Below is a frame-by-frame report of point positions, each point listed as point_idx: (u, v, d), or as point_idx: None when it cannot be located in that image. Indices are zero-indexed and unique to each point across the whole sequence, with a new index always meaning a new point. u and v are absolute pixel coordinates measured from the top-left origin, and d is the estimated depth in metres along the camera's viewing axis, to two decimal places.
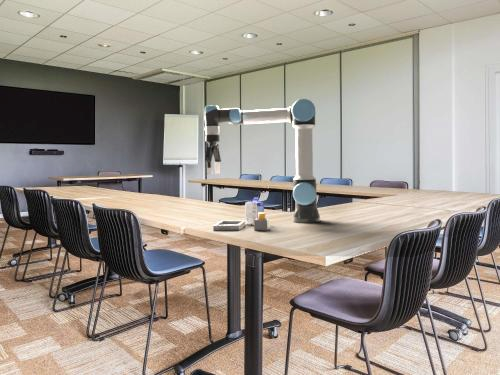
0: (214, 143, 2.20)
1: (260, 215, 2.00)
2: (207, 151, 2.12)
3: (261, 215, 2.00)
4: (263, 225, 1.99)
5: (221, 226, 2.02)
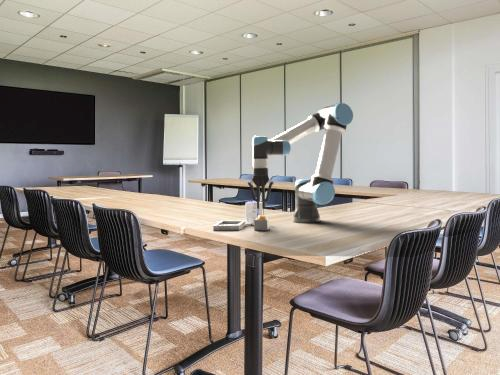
0: (259, 177, 2.00)
1: (260, 218, 2.00)
2: None
3: (261, 218, 2.00)
4: (263, 225, 1.99)
5: (221, 226, 2.02)
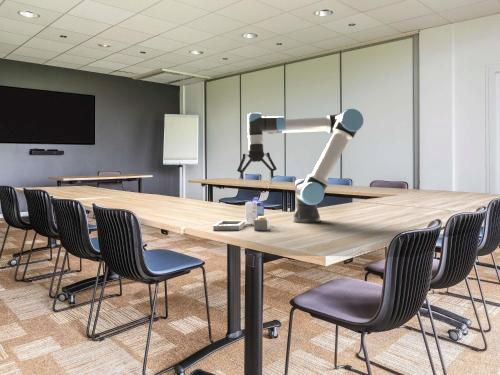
0: (255, 153, 2.09)
1: (260, 219, 2.00)
2: (241, 162, 2.12)
3: (261, 219, 2.00)
4: (263, 225, 1.99)
5: (221, 226, 2.02)
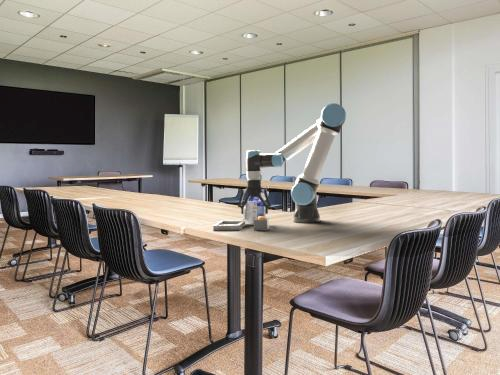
0: (253, 188, 2.18)
1: (260, 219, 2.00)
2: None
3: (261, 219, 2.00)
4: (263, 225, 1.99)
5: (221, 226, 2.02)
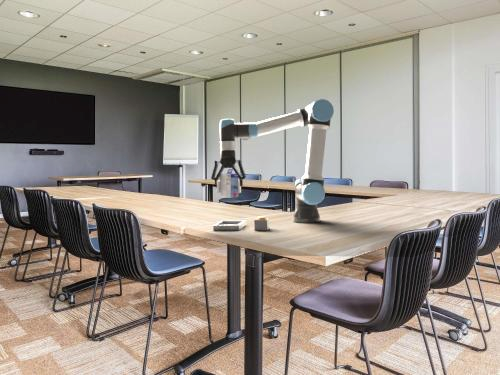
0: (226, 159, 2.07)
1: (260, 219, 2.00)
2: None
3: (261, 219, 2.00)
4: (263, 225, 1.99)
5: (221, 226, 2.02)
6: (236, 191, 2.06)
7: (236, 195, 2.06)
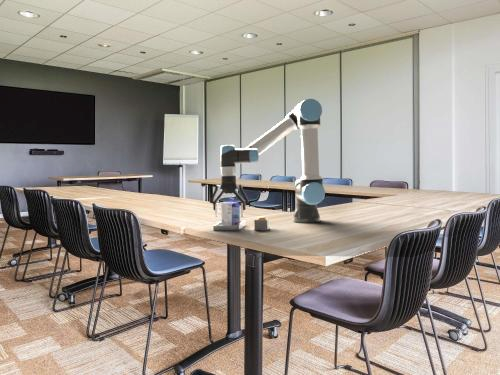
0: (227, 184, 2.08)
1: (260, 219, 2.00)
2: None
3: (261, 219, 2.00)
4: (263, 225, 1.99)
5: (221, 226, 2.02)
6: (237, 221, 2.07)
7: (237, 224, 2.07)
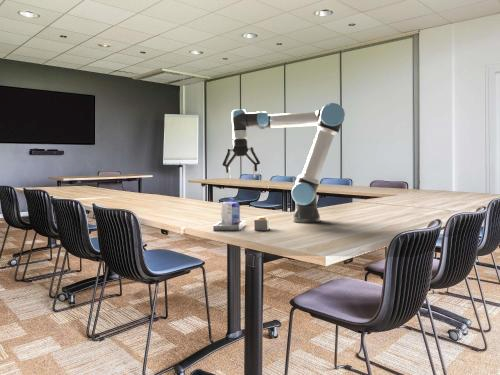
0: (239, 147, 2.18)
1: (260, 219, 2.00)
2: (226, 157, 2.21)
3: (261, 219, 2.00)
4: (263, 225, 1.99)
5: (221, 226, 2.02)
6: (237, 221, 2.07)
7: (237, 224, 2.07)
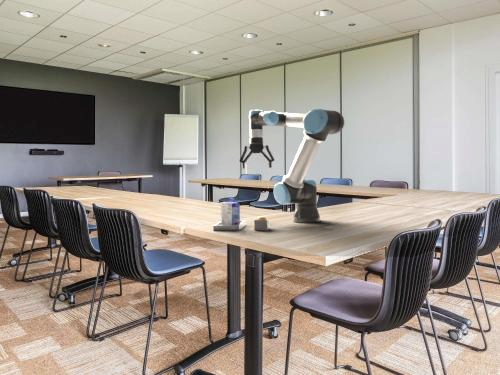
0: (255, 145, 2.35)
1: (260, 219, 2.00)
2: None
3: (261, 219, 2.00)
4: (263, 225, 1.99)
5: (221, 226, 2.02)
6: (237, 221, 2.07)
7: (237, 224, 2.07)
